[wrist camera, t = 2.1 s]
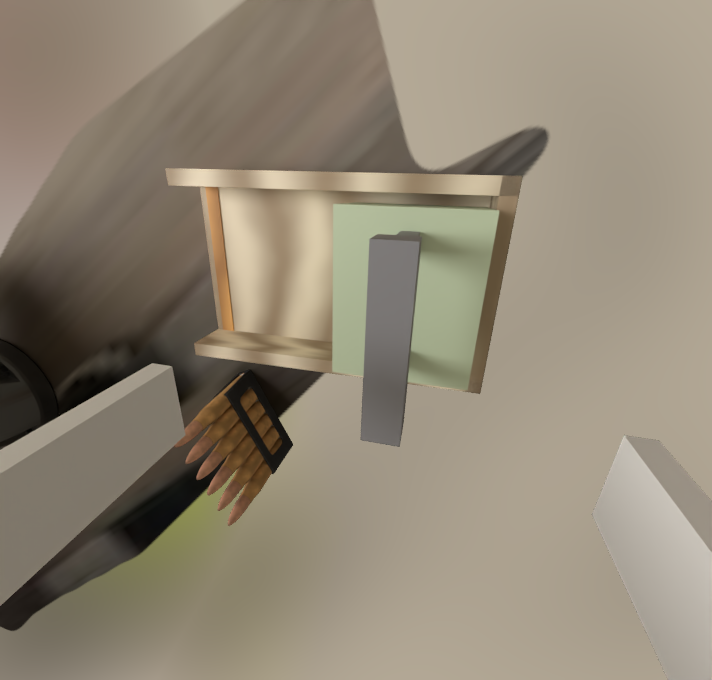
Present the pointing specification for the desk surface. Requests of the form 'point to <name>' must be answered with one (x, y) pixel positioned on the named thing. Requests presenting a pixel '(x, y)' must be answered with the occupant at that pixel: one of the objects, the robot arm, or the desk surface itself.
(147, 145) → the desk surface
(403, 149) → the desk surface
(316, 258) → the bay
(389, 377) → the green panel with handle
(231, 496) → the ammunition clip
